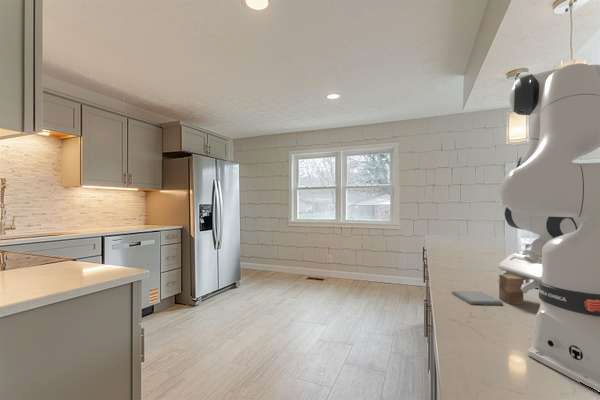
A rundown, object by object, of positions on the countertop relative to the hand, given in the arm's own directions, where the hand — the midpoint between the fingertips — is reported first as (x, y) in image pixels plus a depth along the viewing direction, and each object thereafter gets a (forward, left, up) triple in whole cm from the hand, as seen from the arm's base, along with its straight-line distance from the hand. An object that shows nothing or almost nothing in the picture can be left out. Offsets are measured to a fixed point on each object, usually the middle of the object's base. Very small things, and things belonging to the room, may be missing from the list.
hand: (510, 286), depth 94 cm
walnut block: (0, 0, -5) cm, 5 cm away
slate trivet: (+2, +10, -5) cm, 11 cm away
